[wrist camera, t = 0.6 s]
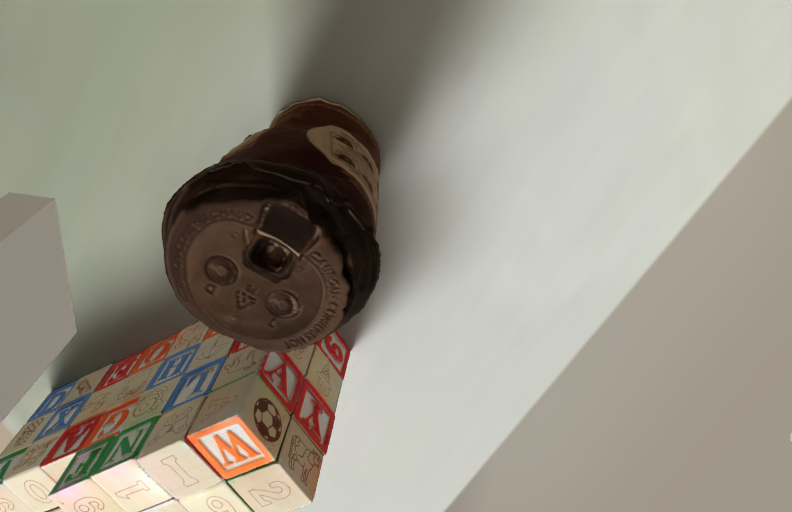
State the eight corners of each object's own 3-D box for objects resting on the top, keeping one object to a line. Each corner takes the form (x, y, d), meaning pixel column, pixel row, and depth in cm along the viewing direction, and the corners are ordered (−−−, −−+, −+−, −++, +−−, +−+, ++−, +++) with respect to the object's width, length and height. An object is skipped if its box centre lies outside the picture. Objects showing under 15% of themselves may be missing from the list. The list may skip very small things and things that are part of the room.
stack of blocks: (109, 449, 49) (9, 608, 39) (49, 390, 47) (-74, 541, 36) (353, 349, 43) (314, 507, 32) (299, 273, 40) (237, 418, 30)
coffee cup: (374, 53, 33) (324, 146, 22) (426, 200, 37) (407, 344, 26) (219, 106, 35) (102, 215, 24) (283, 240, 39) (207, 389, 28)
